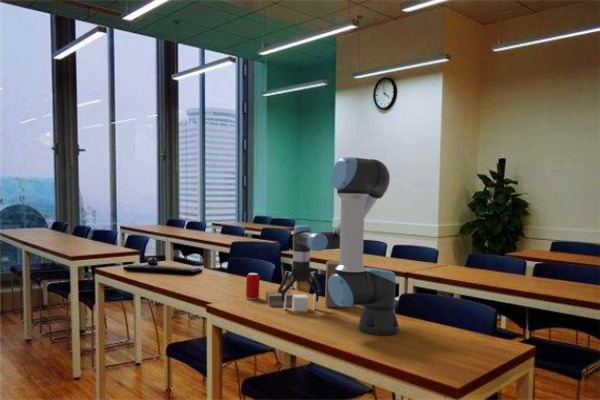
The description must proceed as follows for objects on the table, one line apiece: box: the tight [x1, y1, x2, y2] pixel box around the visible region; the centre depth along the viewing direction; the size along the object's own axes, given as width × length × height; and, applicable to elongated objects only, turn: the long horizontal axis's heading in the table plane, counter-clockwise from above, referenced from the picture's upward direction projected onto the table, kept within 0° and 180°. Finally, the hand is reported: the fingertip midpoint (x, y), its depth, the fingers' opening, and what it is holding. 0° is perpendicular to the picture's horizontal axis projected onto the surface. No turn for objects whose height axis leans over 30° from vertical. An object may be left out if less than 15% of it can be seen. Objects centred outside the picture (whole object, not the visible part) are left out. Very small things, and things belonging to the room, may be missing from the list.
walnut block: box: [265, 289, 294, 307], centre depth 212 cm, size 11×11×5 cm
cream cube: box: [291, 294, 309, 312], centre depth 202 cm, size 6×6×6 cm
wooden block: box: [324, 260, 348, 309], centre depth 211 cm, size 10×10×20 cm
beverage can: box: [245, 272, 260, 301], centre depth 220 cm, size 6×6×12 cm
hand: (299, 308), depth 202 cm, fingers open, 12 cm apart
